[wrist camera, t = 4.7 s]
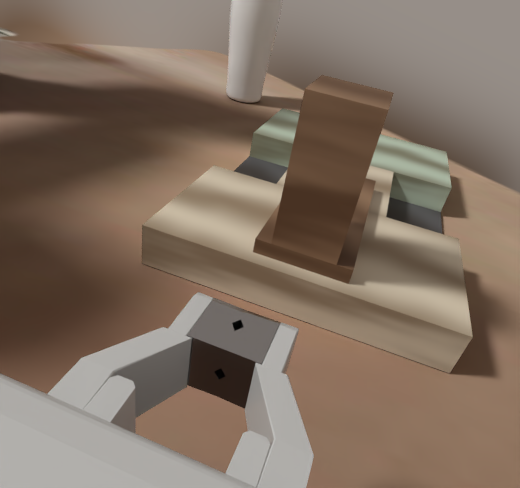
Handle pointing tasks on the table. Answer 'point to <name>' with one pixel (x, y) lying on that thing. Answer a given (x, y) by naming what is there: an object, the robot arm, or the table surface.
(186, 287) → the table surface
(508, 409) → the table surface
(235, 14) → the drinking glass
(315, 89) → the push block
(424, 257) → the board
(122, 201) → the table surface
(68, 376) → the robot arm
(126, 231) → the table surface
